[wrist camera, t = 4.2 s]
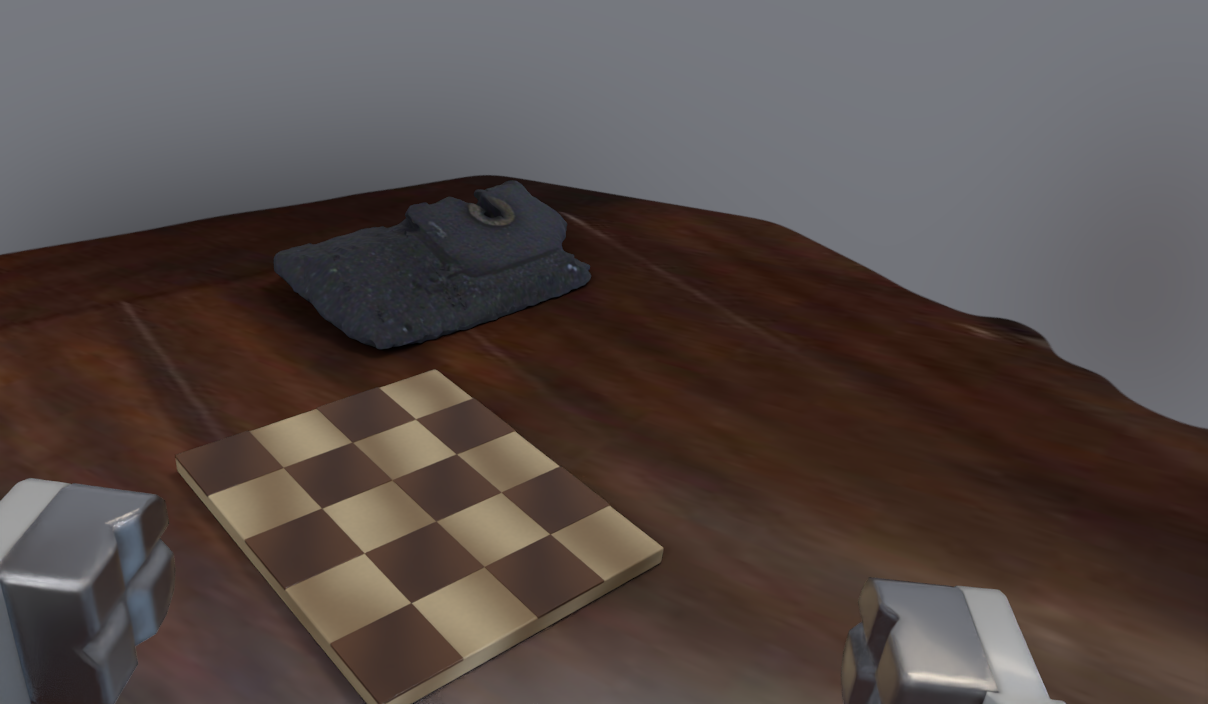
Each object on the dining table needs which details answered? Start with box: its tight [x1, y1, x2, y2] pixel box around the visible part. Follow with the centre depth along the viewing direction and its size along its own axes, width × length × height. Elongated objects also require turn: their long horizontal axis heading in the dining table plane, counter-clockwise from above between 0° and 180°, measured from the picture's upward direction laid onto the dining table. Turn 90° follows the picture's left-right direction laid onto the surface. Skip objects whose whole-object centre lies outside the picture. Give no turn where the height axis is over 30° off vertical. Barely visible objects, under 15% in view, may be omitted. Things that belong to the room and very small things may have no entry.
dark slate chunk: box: [274, 180, 591, 350], centre depth 74 cm, size 15×22×5 cm
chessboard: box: [175, 370, 663, 704], centre depth 52 cm, size 16×20×1 cm
